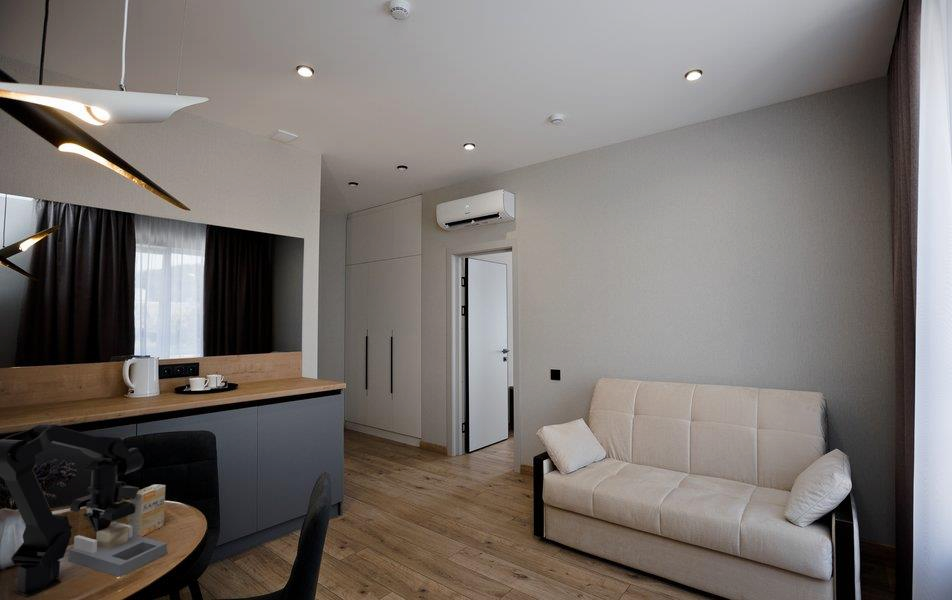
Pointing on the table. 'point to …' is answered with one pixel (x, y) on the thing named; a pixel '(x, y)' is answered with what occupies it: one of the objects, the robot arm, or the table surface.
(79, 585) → the table surface
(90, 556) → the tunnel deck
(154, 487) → the supplement box
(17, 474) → the robot arm
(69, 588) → the table surface
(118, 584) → the table surface
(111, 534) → the birch block
